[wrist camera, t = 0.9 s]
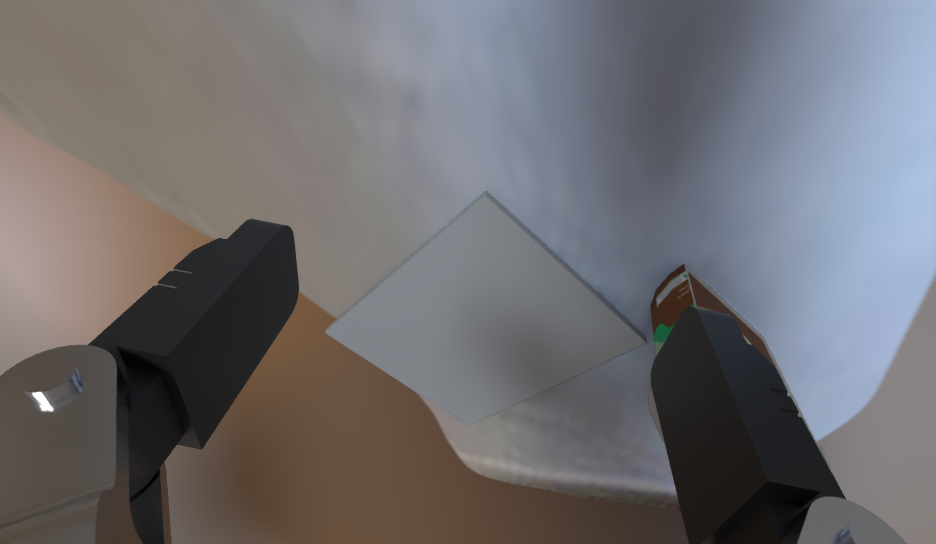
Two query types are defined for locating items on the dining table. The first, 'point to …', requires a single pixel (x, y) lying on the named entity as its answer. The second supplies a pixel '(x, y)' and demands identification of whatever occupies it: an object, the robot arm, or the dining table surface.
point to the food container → (693, 292)
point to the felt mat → (484, 317)
